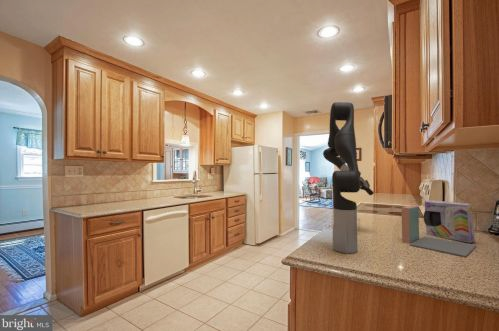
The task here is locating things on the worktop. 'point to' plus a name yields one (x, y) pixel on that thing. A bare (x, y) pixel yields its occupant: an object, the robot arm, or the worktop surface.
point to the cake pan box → (449, 220)
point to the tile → (410, 223)
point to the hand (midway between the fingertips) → (372, 194)
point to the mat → (444, 246)
